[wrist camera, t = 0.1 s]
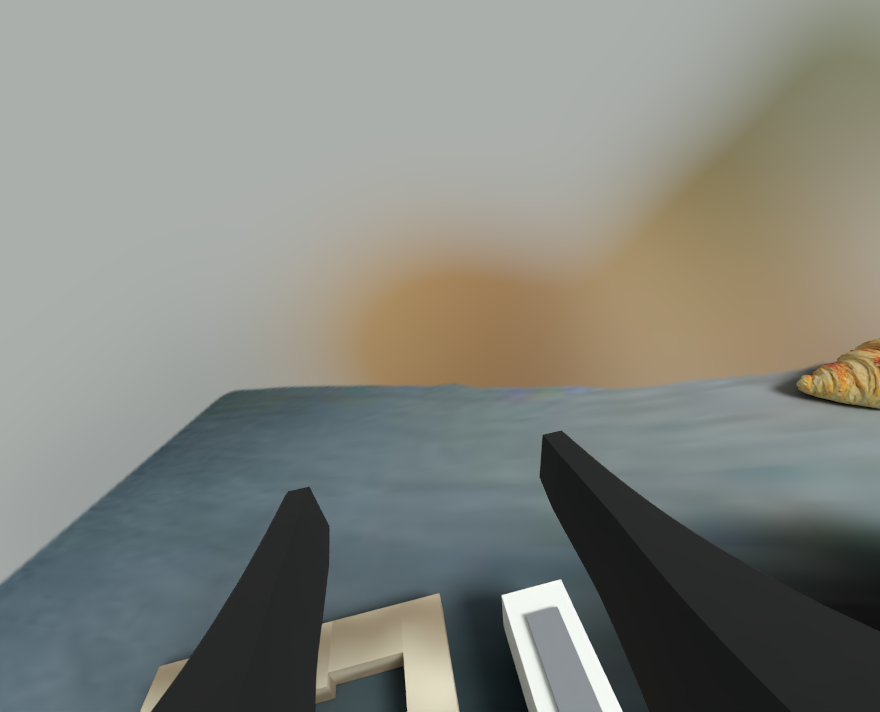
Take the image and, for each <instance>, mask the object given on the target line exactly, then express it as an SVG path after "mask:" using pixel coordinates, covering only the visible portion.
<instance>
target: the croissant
mask: <svg viewBox="0 0 880 712" xmlns="http://www.w3.org/2000/svg"><path fill="white" fill-rule="evenodd" d="M796 385H797V386H798V389H799V390H800V391H802V392H804V393H806V394H809V395H812V396H816V397H819V398H824V399H828V400H832V401H836V402H841V403H846V404H852V405H860V406H866V407H872V408H878V409H880V339H875V340H872V341H868V342H865V343H863V344H861V345H859V346H857V347H856V348H855V350H851V351H850V352H848V353H846V354H844V355H841V356H840V357H839V358H838V359H837V361H836V362H835V363H831V364H826V365H822V366H819V368H818V369H817V370H816V371H814V372H813V373H812V375H803V376H802V377H801V379H800V380H799V381H798V382H797V384H796Z"/></svg>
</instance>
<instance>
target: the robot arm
mask: <svg viewBox="0 0 880 712" xmlns="http://www.w3.org/2000/svg"><path fill="white" fill-rule="evenodd" d="M540 479H541V482H542V484H543V486H544V489H545V491H546V494H547V496H548V499H549V501H550V503H551V506H552V508H553V510H554V512H555V514H556V516H557V517H558V519H559V521H560V523H561V525H562V527H563V529H564V530H565V532H566V534H567V536H568V538H569V539H570V541H571V543H572V545H573V547H574V549H575V550H576V552H577V554H578V556H579V558H580V559H581V561H582V563H583V565H584V567H585V569H586V570H587V572H588V574H589V576H590V578H591V579H592V581H593V583H594V585H595V587H596V589H597V591H598V593H599V595H600V597H601V599H602V602H603V604H604V606H605V608H606V611H607V613H608V615H609V617H610V619H611V622H612V624H613V626H614V628H615V631H616V633H617V635H618V637H619V640H620V642H621V644H622V647H623V649H624V651H625V654H626V656H627V658H628V661H629V663H630V665H631V668H632V670H633V672H634V675H635V677H636V680H637V682H638V685H639V687H640V689H641V692H642V694H643V697H644V699H645V702H646V704H647V707H648V709H649V712H880V632H879V631H877V630H875V629H873V628H871V627H868V626H866V625H864V624H862V623H860V622H858V621H856V620H854V619H851V618H849V617H847V616H845V615H843V614H841V613H839V612H837V611H835V610H832V609H830V608H828V607H826V606H824V605H822V604H820V603H818V602H816V601H815V600H813V599H811V598H809V597H807V596H805V595H803V594H801V593H799V592H797V591H795V590H793V589H791V588H789V587H787V586H785V585H783V584H782V583H780V582H778V581H776V580H774V579H773V578H771V577H769V576H767V575H766V574H764V573H762V572H760V571H758V570H757V569H755V568H753V567H751V566H750V565H748V564H746V563H744V562H742V561H741V560H739V559H737V558H735V557H734V556H732V555H730V554H728V553H727V552H725V551H723V550H722V549H720V548H718V547H717V546H715V545H714V544H712V543H710V542H709V541H707V540H705V539H704V538H702V537H701V536H699V535H697V534H696V533H694V532H693V531H691V530H690V529H688V528H687V527H685V526H684V525H682V524H680V523H679V522H678V521H676V520H675V519H673V518H672V517H670V516H669V515H667V514H666V513H664V512H663V511H662V510H660V509H659V508H657V507H656V506H655V505H653V504H652V503H650V502H649V501H648V500H646V499H645V498H644V497H642V496H641V495H640V494H638V493H637V492H636V491H634V490H633V489H632V488H630V487H629V486H628V485H626V484H625V483H624V482H623V481H621V480H620V479H619V478H618V477H616V476H615V475H614V474H612V473H611V472H610V471H609V470H607V469H606V468H605V467H604V466H603V465H601V464H600V463H599V462H598V461H597V460H595V459H594V458H593V457H592V456H591V455H589V454H588V453H587V452H586V451H585V450H584V449H582V448H581V447H580V446H579V445H578V444H577V443H575V442H574V441H573V440H572V439H571V438H570V437H569V436H567V435H566V434H565V433H564V432H562V431H558V432H553V433H549V434H544V435H543V438H542V452H541V466H540ZM328 568H329V525H328V523H327V521H326V519H325V517H324V515H323V513H322V511H321V509H320V507H319V505H318V503H317V501H316V499H315V497H314V495H313V493H312V491H311V489H310V487H306V488H302V489H297V490H293V491H288V493H287V494H286V495H285V497H284V499H283V501H282V503H281V505H280V507H279V509H278V511H277V513H276V515H275V517H274V518H273V520H272V522H271V524H270V526H269V528H268V530H267V532H266V534H265V535H264V537H263V539H262V541H261V543H260V545H259V546H258V548H257V550H256V552H255V554H254V555H253V557H252V559H251V561H250V562H249V564H248V566H247V568H246V570H245V571H244V573H243V575H242V577H241V578H240V580H239V582H238V583H237V585H236V587H235V588H234V590H233V591H232V593H231V595H230V596H229V598H228V600H227V601H226V603H225V604H224V606H223V608H222V609H221V611H220V613H219V614H218V616H217V617H216V619H215V621H214V622H213V624H212V625H211V627H210V628H209V630H208V631H207V633H206V634H205V636H204V637H203V639H202V640H201V642H200V643H199V645H198V646H197V648H196V649H195V651H194V652H193V654H192V655H191V657H190V658H189V659H188V661H187V662H186V664H185V665H184V667H183V668H182V670H181V671H180V672H179V674H178V675H177V677H176V678H175V679H174V681H173V682H172V683H171V685H170V686H169V688H168V689H167V690H166V692H165V693H164V694H163V696H162V697H161V698H160V700H159V701H158V703H157V704H156V705H155V707H154V708H153V709H152V711H151V712H315V703H316V677H317V664H318V652H319V644H320V636H321V628H322V619H323V611H324V603H325V594H326V586H327V577H328Z"/></svg>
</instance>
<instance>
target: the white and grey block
mask: <svg viewBox="0 0 880 712" xmlns="http://www.w3.org/2000/svg"><path fill="white" fill-rule="evenodd" d="M502 610H503V625H504V629H505V633H506V636H507V640H508V643H509V646H510V650H511V653H512V657H513V660H514V663H515V667H516V670H517V674H518V677H519V680H520V684H521V687H522V691H523V694H524V697H525V701H526V704H527V708H528V711H529V712H622V709H621V707H620V705H619V703H618V701H617V699H616V697H615V694H614V692H613V690H612V688H611V686H610V684H609V682H608V679H607V677H606V675H605V673H604V671H603V669H602V667H601V664H600V662H599V660H598V658H597V656H596V654H595V652H594V649H593V647H592V645H591V643H590V641H589V639H588V637H587V634H586V632H585V630H584V628H583V626H582V624H581V622H580V620H579V617H578V615H577V613H576V611H575V609H574V607H573V605H572V602H571V600H570V598H569V596H568V594H567V592H566V590H565V587H564V585H563V583H562V581H561V580H557V581H553V582H549V583H546V584H542V585H538V586H534V587H531V588H527V589H523V590H519V591H516V592H512V593H508V594H504V595H502Z"/></svg>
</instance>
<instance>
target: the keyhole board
mask: <svg viewBox="0 0 880 712" xmlns="http://www.w3.org/2000/svg"><path fill="white" fill-rule="evenodd" d="M187 661H188V659H185V660H181V661H177V662H174V663H170V664H166V665H162V666H159V669H158V671H157V673H156V676H155V678H154V680H153V683H152V685H151V687H150V690H149V692H148V694H147V697H146V699H145V701H144V704H143V706H142V708H141V711H140V712H151V711H152V709H153V708H154V707H155V705H156V704H157V703H158V701H159V700H160V698H161V697H162V696H163V694H164V693H165V692H166V690H167V689H168V688H169V686H170V685H171V683H172V682H173V681H174V679H175V678H176V677H177V675H178V674H179V672H180V671H181V670H182V668H183V667H184V665H185V664H186V662H187ZM402 666H404V670H405V685H406V700H407V712H460V711H459V705H458V698H457V692H456V686H455V680H454V674H453V668H452V662H451V656H450V650H449V644H448V638H447V632H446V626H445V620H444V614H443V608H442V603H441V599H440V594H439V593H438V594H434V595H431V596H427V597H423V598H419V599H415V600H411V601H408V602H404V603H400V604H396V605H392V606H388V607H385V608H381V609H377V610H373V611H369V612H365V613H362V614H358V615H354V616H350V617H346V618H342V619H338V620H335V621H331V622H327V623H323V624H322V628H321V636H320V644H319V652H318V664H317V677H316V703H315V704H317V703H321V702H325V701H328V700H332V699H335V695H336V685H338V684H341V683H345V682H349V681H352V680H356V679H359V678H363V677H367V676H370V675H374V674H377V673H381V672H385V671H388V670H392V669H395V668H399V667H402Z"/></svg>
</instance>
